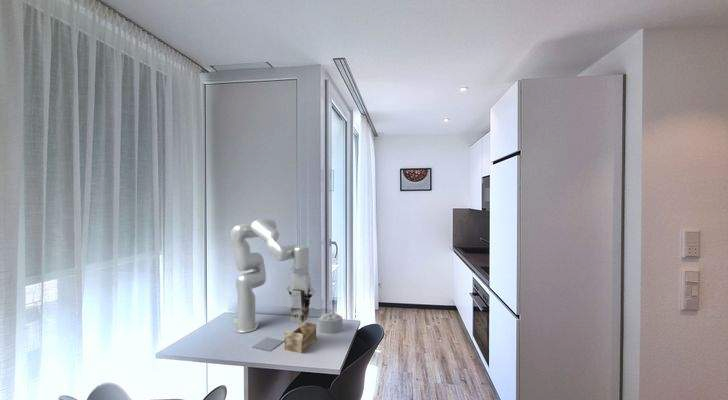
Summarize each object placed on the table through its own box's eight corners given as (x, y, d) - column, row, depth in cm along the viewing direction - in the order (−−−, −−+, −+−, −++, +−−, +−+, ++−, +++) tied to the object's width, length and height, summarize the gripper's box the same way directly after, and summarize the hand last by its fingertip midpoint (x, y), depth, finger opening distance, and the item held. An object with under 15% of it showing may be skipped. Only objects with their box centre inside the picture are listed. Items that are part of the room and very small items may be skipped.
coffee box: (302, 323, 146) (303, 291, 146) (290, 322, 147) (291, 290, 147) (309, 316, 155) (310, 285, 155) (298, 315, 156) (298, 284, 156)
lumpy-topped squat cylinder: (322, 325, 175) (322, 310, 175) (344, 326, 173) (344, 311, 173) (317, 333, 165) (317, 317, 165) (340, 334, 163) (340, 318, 163)
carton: (284, 349, 146) (284, 331, 146) (299, 338, 159) (299, 321, 159) (302, 353, 143) (302, 334, 143) (316, 341, 155) (316, 324, 155)
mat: (252, 347, 148) (252, 346, 148) (266, 337, 158) (266, 337, 158) (270, 351, 144) (270, 350, 144) (284, 341, 155) (284, 340, 155)
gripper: (282, 270, 150) (281, 305, 150) (312, 274, 144) (311, 310, 144) (290, 267, 157) (290, 300, 157) (319, 270, 151) (319, 305, 151)
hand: (300, 305), depth 151 cm, fingers closed on coffee box, 7 cm apart
